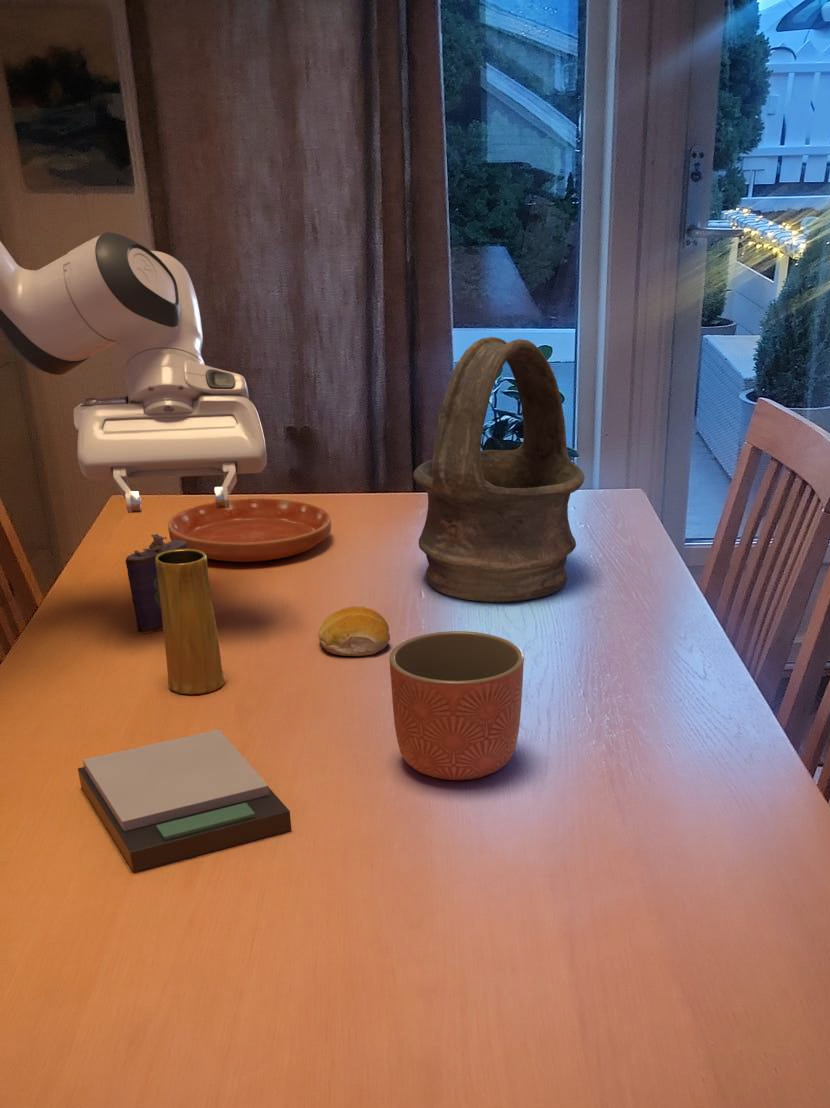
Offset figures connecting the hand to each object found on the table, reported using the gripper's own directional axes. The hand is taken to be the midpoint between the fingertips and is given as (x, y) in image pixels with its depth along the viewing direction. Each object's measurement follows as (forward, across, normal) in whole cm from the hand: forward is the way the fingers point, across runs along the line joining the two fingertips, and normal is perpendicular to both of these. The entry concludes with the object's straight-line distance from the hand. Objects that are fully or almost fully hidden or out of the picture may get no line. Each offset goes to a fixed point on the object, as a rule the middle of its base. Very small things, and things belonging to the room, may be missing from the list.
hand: (178, 508), depth 134 cm
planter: (+35, +25, -12) cm, 45 cm away
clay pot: (-1, +39, +24) cm, 46 cm away
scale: (+38, -1, -15) cm, 41 cm away
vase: (+19, 0, +5) cm, 19 cm away
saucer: (-16, +8, +39) cm, 43 cm away
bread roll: (+13, +18, +10) cm, 25 cm away
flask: (+5, -3, +19) cm, 20 cm away
